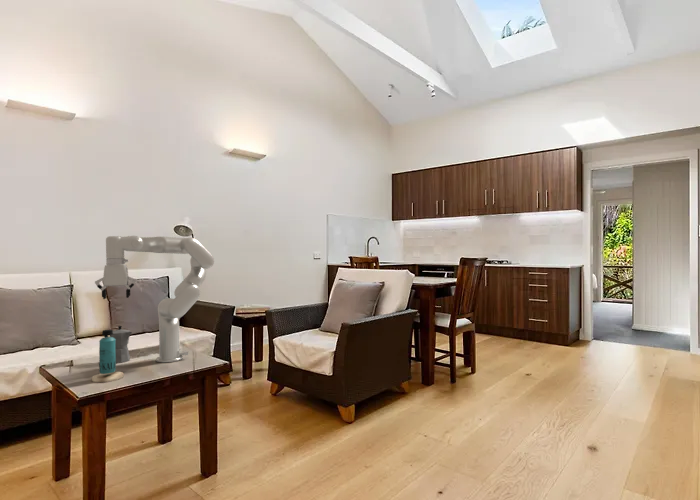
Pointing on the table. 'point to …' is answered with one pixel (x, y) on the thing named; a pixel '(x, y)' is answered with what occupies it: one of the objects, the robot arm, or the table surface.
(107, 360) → the beverage bottle
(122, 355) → the coffeepot
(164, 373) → the table surface
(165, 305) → the robot arm
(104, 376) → the disc
